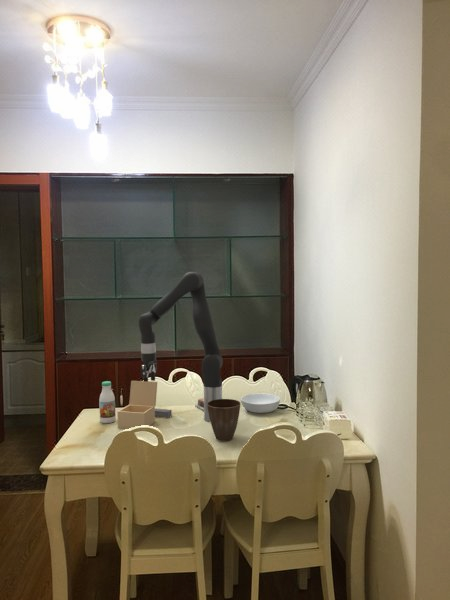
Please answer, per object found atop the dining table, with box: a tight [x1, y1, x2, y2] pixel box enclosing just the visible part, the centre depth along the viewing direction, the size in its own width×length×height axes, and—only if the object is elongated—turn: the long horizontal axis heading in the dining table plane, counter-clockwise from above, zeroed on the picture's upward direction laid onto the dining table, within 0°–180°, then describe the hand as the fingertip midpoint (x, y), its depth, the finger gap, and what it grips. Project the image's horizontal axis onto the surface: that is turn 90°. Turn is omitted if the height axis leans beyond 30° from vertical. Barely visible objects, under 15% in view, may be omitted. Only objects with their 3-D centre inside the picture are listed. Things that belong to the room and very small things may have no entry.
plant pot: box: [207, 398, 242, 442], centre depth 215 cm, size 15×15×16 cm
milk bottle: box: [98, 380, 117, 424], centre depth 243 cm, size 8×8×20 cm
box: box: [116, 404, 156, 430], centre depth 236 cm, size 14×12×8 cm
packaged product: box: [194, 397, 204, 413], centre depth 261 cm, size 18×5×10 cm
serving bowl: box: [240, 392, 281, 414], centre depth 257 cm, size 21×21×7 cm
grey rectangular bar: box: [155, 408, 173, 419], centre depth 251 cm, size 14×4×4 cm, turn 71°
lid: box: [128, 380, 158, 407], centre depth 244 cm, size 14×12×1 cm
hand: (149, 382), depth 251 cm, fingers open, 8 cm apart
